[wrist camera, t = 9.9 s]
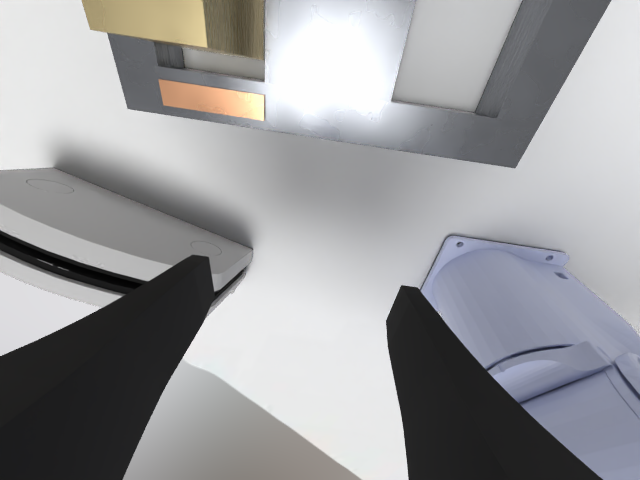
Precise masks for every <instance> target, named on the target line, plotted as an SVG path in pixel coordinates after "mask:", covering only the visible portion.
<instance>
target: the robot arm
mask: <svg viewBox="0 0 640 480" xmlns="http://www.w3.org/2000/svg"><path fill="white" fill-rule="evenodd" d="M458 242H461V243H460V244H457V243H458ZM456 244H457V245H456ZM547 256H548V257H547ZM568 260H569V256H568V255H567V254H566V253H564V252H558V251H551V250H545V249H538V248H531V247H525V246H518V245H512V244H505V243H499V242H492V241H485V240H479V239H472V238H466V237H459V236H450V237H448V238H447V239H446V241H445V243H444V245H443V247H442V249H441V251H440V253H439V255H438V257H437V259H436V261H435V263H434V265H433V267H432V269H431V271H430V273H429V275H428V277H427V279H426V281H425V283H424V285H423V287H422V289H421V291H420V290H419V289H418V288H417V287H410V286H403V285H401V287H400V290H399V292H398V294H397V297H396V299H395V301H394V304H393V306H392V308H391V311H390V313H389V315H388V318H387V320H386V326H387V340H388V349H389V355H390V360H391V365H392V370H393V375H394V380H395V385H396V390H397V395H398V400H399V405H400V410H401V416H402V422H403V429H404V438H405V447H406V456H407V466H408V477H409V480H640V337H639V335H638V334H637V332H636V331H635V330H634V329H633V327H632V326H631V325H630V324H629V323H628V322H626V321H625V320H624V319H623V318H622V317H621V316H619V315H618V314H617V313H616V312H615V311H614V310H613V309H611V308H610V307H609V306H608V305H607V304H606V303H604V302H603V301H602V300H601V299H600V298H599V297H597V296H596V295H595V294H594V293H593V292H592V291H590V290H589V289H588V288H587V287H586V286H585V285H583V284H582V283H581V282H580V281H579V280H578V279H577V278H575V277H574V276H573V275H572V274H571V273H570V272H568V271H567V270H566V269H565V268H564V267H563V266H564V265H565V264H566V263H567V261H568ZM214 297H215V293H214V286H213V280H212V273H211V267H210V261H209V257H207V256H200V255H193V254H192V255H191V256H189V257H187V258H185V259H184V260H182V261H181V262H179V263H177V264H176V265H174V266H172V267H171V268H169V269H168V270H166V271H164V272H163V273H161V274H160V275H158V276H156V277H155V278H153V279H151V280H150V281H148V282H146V283H145V284H143V285H141V286H140V287H138V288H136V289H135V290H133V291H131V292H130V293H128V294H126V295H124V296H122V297H121V298H119V299H117V300H115V301H113V302H112V303H110V304H108V305H106V306H105V307H103V308H101V309H99V310H98V311H96V312H94V313H92V314H90V315H88V316H86V317H84V318H82V319H80V320H78V321H76V322H74V323H72V324H70V325H68V326H66V327H64V328H62V329H60V330H58V331H56V332H54V333H52V334H50V335H48V336H45V337H43V338H41V339H39V340H37V341H34V342H32V343H30V344H28V345H25V346H23V347H21V348H18V349H16V350H14V351H11V352H9V353H7V354H5V355H2V356H0V480H122V479H123V477H124V475H125V472H126V470H127V468H128V465H129V463H130V461H131V459H132V456H133V454H134V452H135V450H136V448H137V445H138V443H139V441H140V439H141V437H142V434H143V432H144V430H145V427H146V426H147V423H148V421H149V419H150V417H151V415H152V413H153V411H154V409H155V407H156V405H157V403H158V401H159V398H160V396H161V394H162V392H163V390H164V389H165V387H166V385H167V383H168V381H169V380H170V378H171V376H172V374H173V373H174V371H175V369H176V368H177V366H178V364H179V363H180V361H181V359H182V358H183V356H184V354H185V353H186V351H187V349H188V348H189V346H190V344H191V342H192V341H193V339H194V337H195V336H196V334H197V332H198V331H199V329H200V327H201V325H202V324H203V322H204V320H205V318H206V316H207V313H208V311H209V309H210V306H211V304H212V302H213V299H214ZM437 311H440V313H441V315H442V317H443V319H442V318H441V316H440V315H439V314H438V313H437Z"/></svg>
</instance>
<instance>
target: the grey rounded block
mask: <svg viewBox="0 0 640 480" xmlns="http://www.w3.org/2000/svg"><path fill="white" fill-rule="evenodd" d="M192 254H193V255H200V256H207V257H209V261H210V267H211V273H212V280H213V286H214V293H215V297H214V299H213V302H212V304H211V306H210V309H209V311H208V313H207V316H208V315H209V314H210V313H211V312H212V311H213V310H214V309H215V308H216V307H217V306H218V305H219V304H220V303H221V302H222V301H223V300H224V299H225V298H226V297H227V296H228V295H229V294H230V293H231V294H232V293H233V292H234V291H235V289H236V288H237V286H238V285H239V284H240V282H241V281H242V279H243V278H244V276H245V275H246V274H245V273H243V271H244V270H243V268H245V267H246V266H247V265H248V264H249V263H250V262H251V261H252V255H253V249H251V248H248V247H246V246H244V245H241V244H239V243H236V242H234V241H231V240H229V239H226V238H224V237H222V236H219V235H217V234H214V233H212V232H209V231H207V230H204V229H202V228H200V227H197V226H195V225H192V224H190V223H187V222H185V221H182V220H180V219H178V218H175V217H173V216H170V215H168V214H165V213H163V212H160V211H158V210H156V209H153V208H151V207H148V206H146V205H143V204H141V203H138V202H136V201H134V200H131V199H129V198H126V197H124V196H121V195H119V194H116V193H114V192H112V191H109V190H107V189H104V188H102V187H99V186H97V185H95V184H92V183H90V182H87V181H85V180H82V179H80V178H77V177H75V176H73V175H70V174H68V173H65V172H63V171H60V170H58V169H55V168H37V169H17V170H0V272H2V273H4V274H6V275H8V276H10V277H13V278H15V279H17V280H19V281H22V282H24V283H26V284H29V285H32V286H34V287H37V288H40V289H43V290H45V291H48V292H51V293H54V294H57V295H60V296H63V297H66V298H69V299H73V300H76V301H80V302H83V303H87V304H90V305H94V306H98V307H102V308H103V307H105V306H106V305H108V304H110V303H112V302H113V301H115V300H117V299H119V298H121V297H122V296H124V295H126V294H128V293H130V292H131V291H133V290H135V289H136V288H138V287H140V286H141V285H143V284H145V283H146V282H148V281H150V280H151V279H153V278H155V277H156V276H158V275H160V274H161V273H163V272H164V271H166V270H168V269H169V268H171V267H172V266H174V265H176V264H177V263H179V262H181V261H182V260H184V259H185V258H187V257H189V256H191V255H192ZM207 316H206V317H207Z"/></svg>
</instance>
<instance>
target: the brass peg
mask: <svg viewBox="0 0 640 480" xmlns="http://www.w3.org/2000/svg"><path fill="white" fill-rule="evenodd" d="M82 3H83V7H84V10H85V13H86V17H87V20H88V23H89V27H90V30H95V31H100V32H105V33H111V34H116V35H121V36H126V37H131V38H136V39H142V40H147V41H152V42H157V43H162V44H168V45H173V46H178V47H183V48H188V49H193V50H200V51H206V52H213V53H219V54H226V55H232V56H239V57H245V58H252V59H258V60H263V0H82Z"/></svg>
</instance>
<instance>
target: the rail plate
mask: <svg viewBox="0 0 640 480" xmlns="http://www.w3.org/2000/svg"><path fill="white" fill-rule="evenodd" d="M610 2H611V0H523V1H522V4H521V6H520V8H519V11H518V13H517V15H516V18H515V20H514V22H513V25H512V27H511V30H510V32H509V34H508V37H507V39H506V41H505V44H504V46H503V48H502V51H501V53H500V55H499V58H498V60H497V62H496V65H495V67H494V69H493V72H492V74H491V76H490V79H489V81H488V83H487V86H486V88H485V90H484V93H483V95H482V97H481V100H480V102H479V105H478V107H477V109H476V112H475V113H474V112H467V111H461V110H454V109H448V108H441V107H435V106H428V105H422V104H415V103H409V102H402V101H396V100H391V98H392V94H393V90H394V86H395V82H396V78H397V74H398V70H399V66H400V62H401V58H402V54H403V50H404V47H405V43H406V39H407V35H408V31H409V27H410V23H411V19H412V15H413V11H414V7H415V3H416V0H265V80H259V79H253V78H246V77H240V76H233V75H227V74H220V73H213V72H207V71H200V70H194V69H187V68H184V61H183V54H182V47H178V46H173V45H168V44H162V43H157V42H152V41H147V40H142V39H136V38H131V37H126V36H121V35H116V34H111V33H107V34H108V37H109V41H110V45H111V49H112V52H113V56H114V60H115V63H116V67H117V71H118V74H119V78H120V82H121V85H122V89H123V93H124V97H125V100H126V104H127V108H128V109H131V110H138V111H145V112H151V113H158V114H164V115H171V116H177V117H184V118H190V119H197V120H203V121H210V122H216V123H223V124H230V125H236V126H243V127H249V128H256V129H262V130H269V131H275V132H282V133H288V134H295V135H301V136H308V137H314V138H321V139H328V140H334V141H341V142H347V143H354V144H360V145H367V146H373V147H380V148H386V149H393V150H399V151H406V152H413V153H419V154H426V155H432V156H439V157H445V158H452V159H458V160H465V161H471V162H478V163H484V164H491V165H497V166H504V167H511V168H516V166H517V164H518V163H519V161H520V159H521V157H522V156H523V154H524V152H525V150H526V149H527V147H528V145H529V143H530V142H531V140H532V138H533V136H534V135H535V133H536V131H537V129H538V128H539V126H540V124H541V122H542V121H543V119H544V117H545V115H546V114H547V112H548V110H549V108H550V107H551V105H552V103H553V101H554V100H555V98H556V96H557V94H558V93H559V91H560V89H561V87H562V86H563V84H564V82H565V80H566V79H567V77H568V75H569V73H570V72H571V70H572V68H573V66H574V65H575V63H576V61H577V59H578V58H579V56H580V54H581V52H582V51H583V49H584V47H585V45H586V44H587V42H588V40H589V38H590V37H591V35H592V33H593V31H594V30H595V28H596V26H597V24H598V23H599V21H600V19H601V17H602V16H603V14H604V12H605V10H606V9H607V7H608V5H609V3H610Z"/></svg>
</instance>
